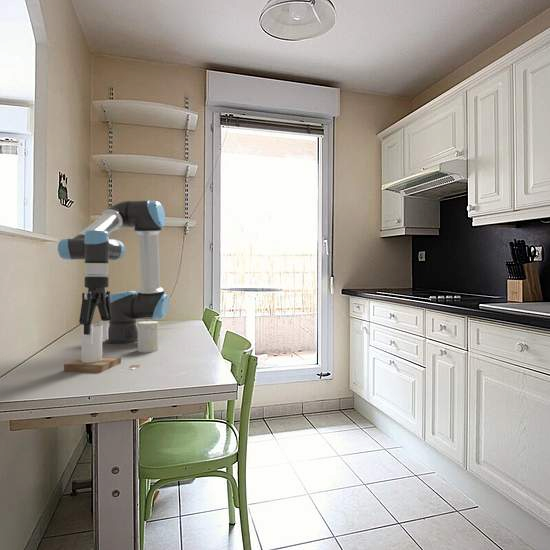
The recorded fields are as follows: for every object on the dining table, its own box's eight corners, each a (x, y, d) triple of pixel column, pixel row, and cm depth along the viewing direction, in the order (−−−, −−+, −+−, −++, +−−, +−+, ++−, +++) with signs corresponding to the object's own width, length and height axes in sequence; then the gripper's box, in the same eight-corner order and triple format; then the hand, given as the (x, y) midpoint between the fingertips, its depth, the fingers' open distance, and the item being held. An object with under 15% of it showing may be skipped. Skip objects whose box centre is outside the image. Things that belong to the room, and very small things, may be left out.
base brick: (86, 364, 148) (86, 356, 148) (120, 365, 147) (120, 357, 147) (64, 373, 135) (64, 364, 135) (101, 374, 134) (101, 365, 134)
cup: (147, 354, 164) (147, 324, 164) (133, 352, 169) (133, 322, 168) (162, 351, 171) (162, 322, 171) (149, 349, 175) (149, 320, 175)
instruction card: (127, 364, 145) (127, 363, 145) (147, 364, 146) (147, 363, 146) (118, 371, 135) (118, 370, 135) (140, 371, 136) (140, 370, 136)
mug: (102, 362, 139) (102, 326, 139) (80, 364, 136) (80, 327, 136) (102, 356, 148) (102, 323, 148) (81, 358, 145) (81, 324, 145)
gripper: (102, 275, 152) (102, 336, 152) (66, 276, 130) (66, 347, 130) (122, 275, 152) (122, 336, 152) (89, 276, 130) (89, 347, 130)
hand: (96, 341), depth 141 cm, fingers open, 9 cm apart
